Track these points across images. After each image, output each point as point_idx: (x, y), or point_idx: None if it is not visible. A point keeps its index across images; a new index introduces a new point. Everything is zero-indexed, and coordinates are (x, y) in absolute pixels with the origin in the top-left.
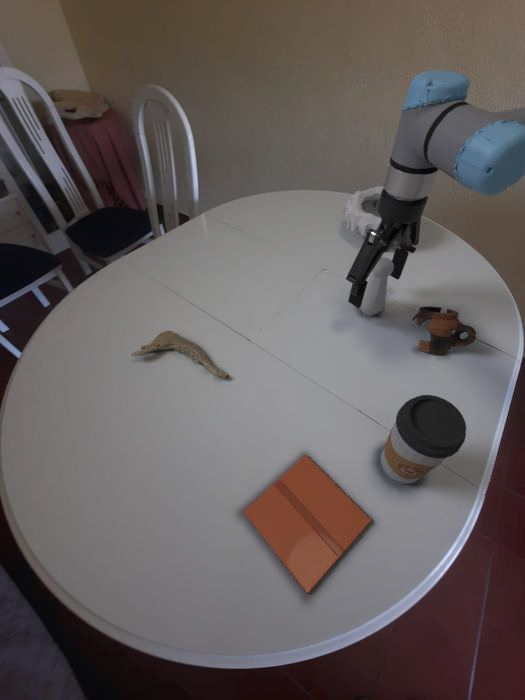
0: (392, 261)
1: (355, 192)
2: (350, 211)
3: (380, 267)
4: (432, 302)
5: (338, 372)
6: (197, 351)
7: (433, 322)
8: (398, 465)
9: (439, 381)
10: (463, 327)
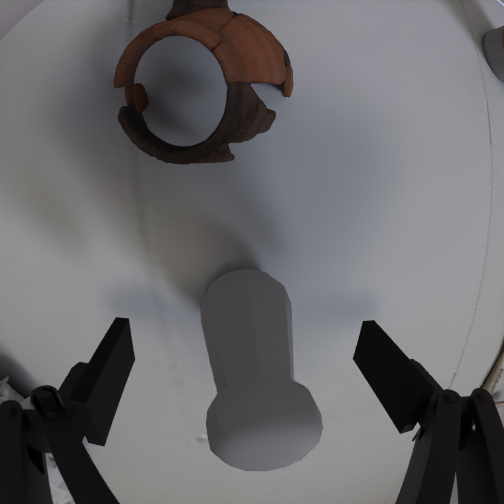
0: (119, 397)
1: None
2: (68, 497)
3: (316, 435)
4: (68, 178)
5: (460, 219)
6: (493, 383)
7: (263, 69)
8: None
9: (344, 21)
10: None
